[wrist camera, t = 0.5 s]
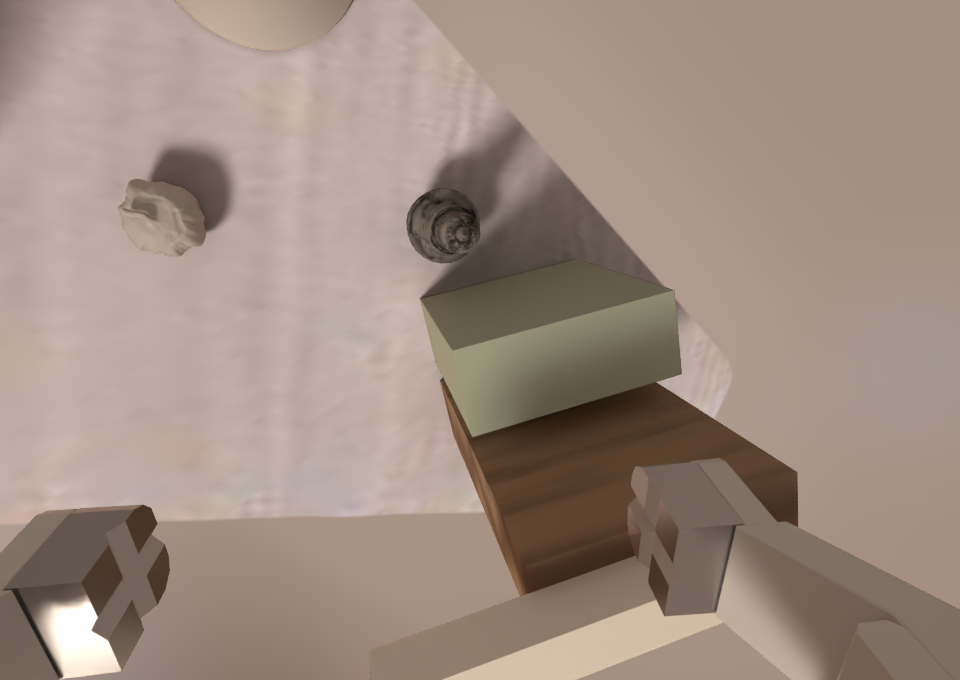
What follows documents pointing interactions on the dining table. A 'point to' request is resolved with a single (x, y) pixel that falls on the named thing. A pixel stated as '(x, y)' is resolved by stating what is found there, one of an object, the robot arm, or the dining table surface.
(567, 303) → the olive grey block
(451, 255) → the stone chess bishop
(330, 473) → the dining table surface
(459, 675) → the beige rectangular bar
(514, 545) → the tall stand
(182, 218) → the garlic
